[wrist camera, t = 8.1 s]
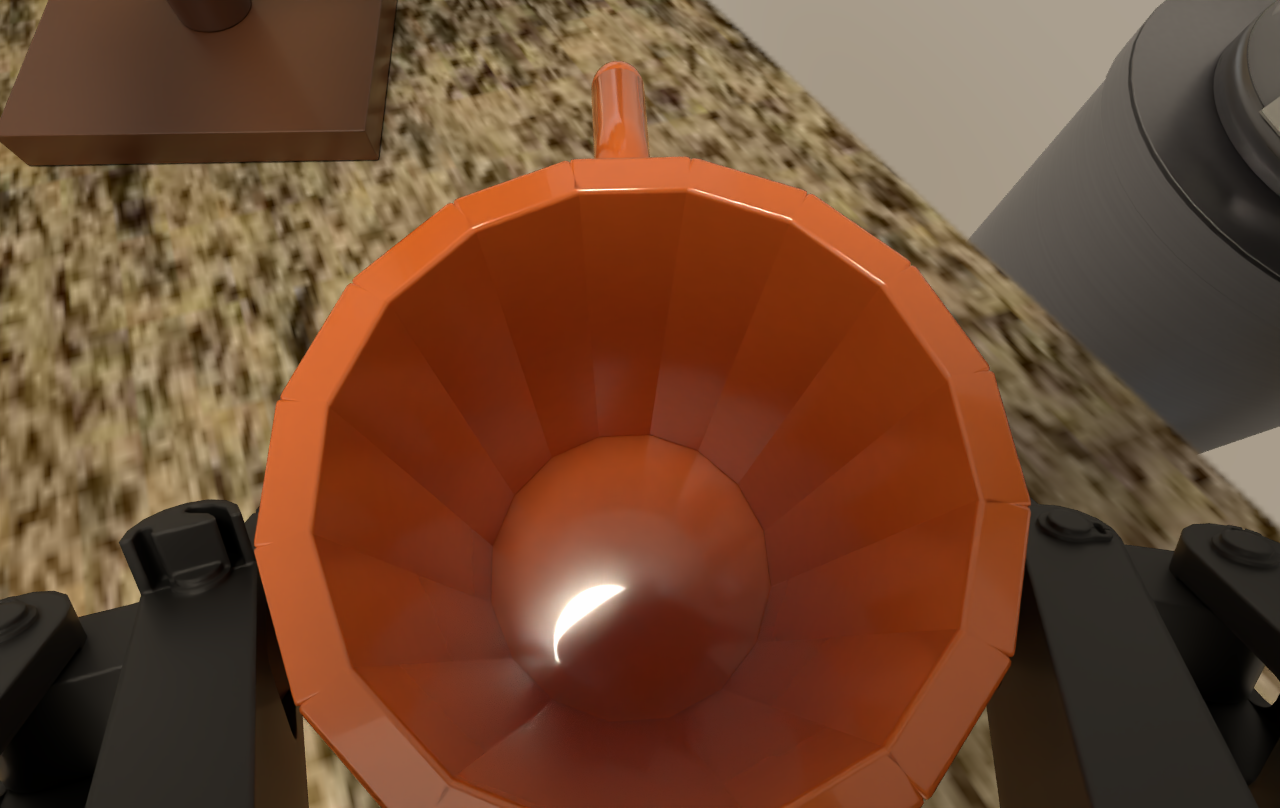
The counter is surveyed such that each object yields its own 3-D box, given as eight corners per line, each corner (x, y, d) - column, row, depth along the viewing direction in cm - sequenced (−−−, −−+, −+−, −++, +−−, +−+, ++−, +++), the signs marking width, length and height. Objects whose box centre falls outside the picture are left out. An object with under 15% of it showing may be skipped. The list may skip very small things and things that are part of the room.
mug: (805, 731, 16) (1140, 871, 6) (469, 755, 16) (184, 955, 5) (745, 301, 21) (874, -48, 10) (484, 309, 20) (347, -46, 10)
